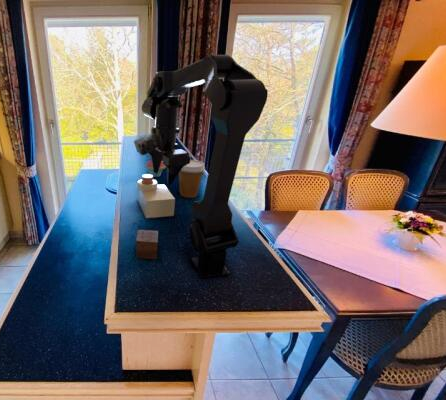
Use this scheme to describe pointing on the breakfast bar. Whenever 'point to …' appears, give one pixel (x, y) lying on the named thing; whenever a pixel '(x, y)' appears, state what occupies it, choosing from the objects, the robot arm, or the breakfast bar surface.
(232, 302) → the breakfast bar surface
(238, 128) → the robot arm
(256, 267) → the breakfast bar surface
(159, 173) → the cupcake
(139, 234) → the brown cube
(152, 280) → the breakfast bar surface
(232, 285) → the breakfast bar surface
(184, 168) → the disposable coffee cup
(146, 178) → the release button
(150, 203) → the white box
